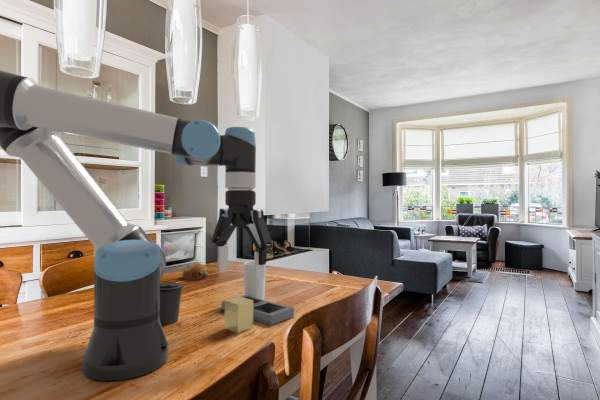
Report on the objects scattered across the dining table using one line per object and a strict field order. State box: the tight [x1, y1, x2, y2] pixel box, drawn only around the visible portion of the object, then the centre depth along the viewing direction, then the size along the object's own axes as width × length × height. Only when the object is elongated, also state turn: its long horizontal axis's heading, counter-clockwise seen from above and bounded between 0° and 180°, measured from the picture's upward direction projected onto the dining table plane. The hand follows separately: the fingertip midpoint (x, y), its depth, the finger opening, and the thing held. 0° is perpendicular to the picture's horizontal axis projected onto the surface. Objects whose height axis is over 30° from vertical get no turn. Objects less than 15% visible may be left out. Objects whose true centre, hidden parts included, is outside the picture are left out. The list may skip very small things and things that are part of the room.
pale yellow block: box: [224, 296, 254, 334], centre depth 90 cm, size 5×5×7 cm
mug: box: [243, 261, 266, 300], centre depth 116 cm, size 10×7×12 cm, turn 157°
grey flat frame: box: [221, 295, 295, 326], centre depth 102 cm, size 9×20×2 cm, turn 51°
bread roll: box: [182, 262, 209, 281], centre depth 148 cm, size 10×10×8 cm
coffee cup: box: [160, 281, 184, 326], centre depth 95 cm, size 8×8×10 cm
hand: (240, 274), depth 91 cm, fingers open, 13 cm apart
